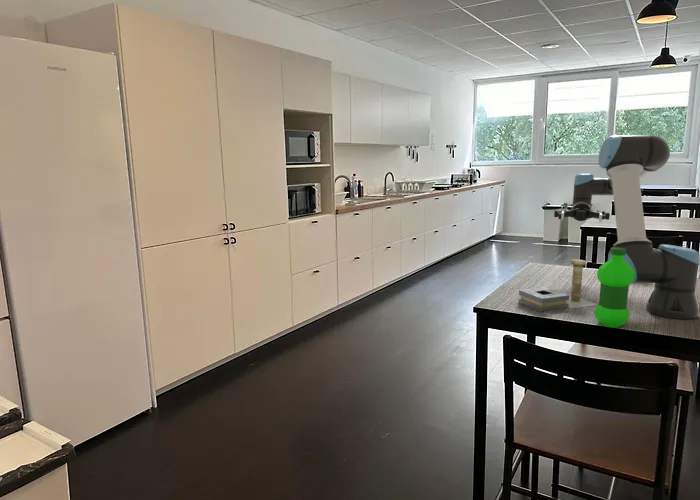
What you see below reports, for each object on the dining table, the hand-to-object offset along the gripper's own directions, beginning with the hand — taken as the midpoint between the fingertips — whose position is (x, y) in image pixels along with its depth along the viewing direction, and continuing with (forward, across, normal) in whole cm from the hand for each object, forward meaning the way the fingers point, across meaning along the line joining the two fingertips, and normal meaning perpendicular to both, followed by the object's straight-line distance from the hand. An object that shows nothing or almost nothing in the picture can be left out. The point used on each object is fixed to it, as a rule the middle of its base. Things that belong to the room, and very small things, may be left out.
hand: (581, 217), depth 189 cm
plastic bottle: (+39, -11, -30) cm, 50 cm away
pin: (+15, 0, -30) cm, 33 cm away
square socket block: (+26, +10, -30) cm, 41 cm away
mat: (+17, +1, -30) cm, 34 cm away
